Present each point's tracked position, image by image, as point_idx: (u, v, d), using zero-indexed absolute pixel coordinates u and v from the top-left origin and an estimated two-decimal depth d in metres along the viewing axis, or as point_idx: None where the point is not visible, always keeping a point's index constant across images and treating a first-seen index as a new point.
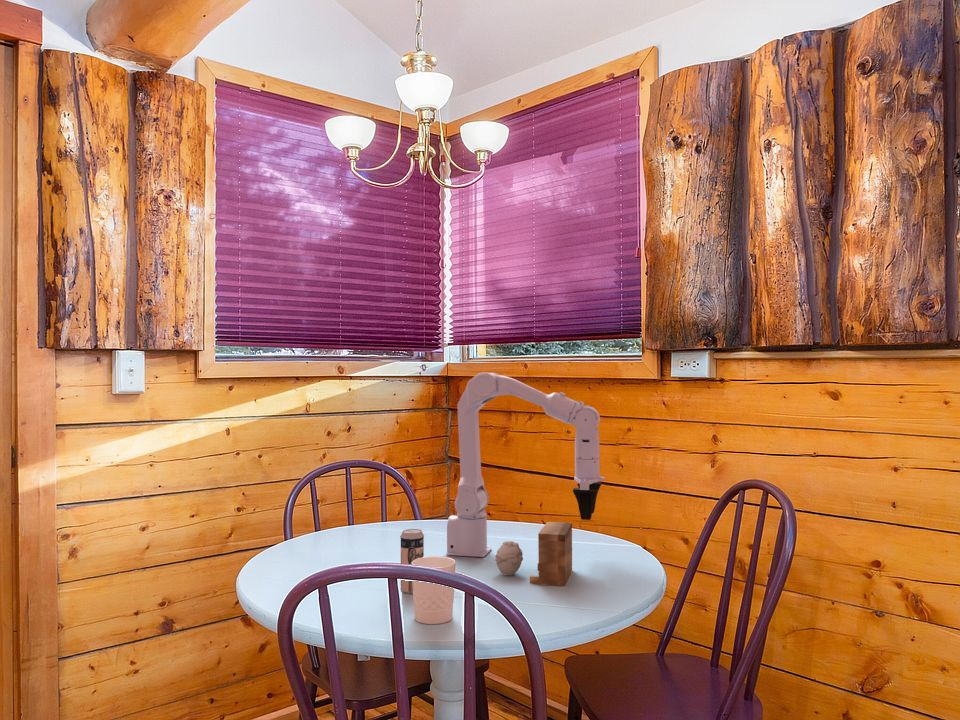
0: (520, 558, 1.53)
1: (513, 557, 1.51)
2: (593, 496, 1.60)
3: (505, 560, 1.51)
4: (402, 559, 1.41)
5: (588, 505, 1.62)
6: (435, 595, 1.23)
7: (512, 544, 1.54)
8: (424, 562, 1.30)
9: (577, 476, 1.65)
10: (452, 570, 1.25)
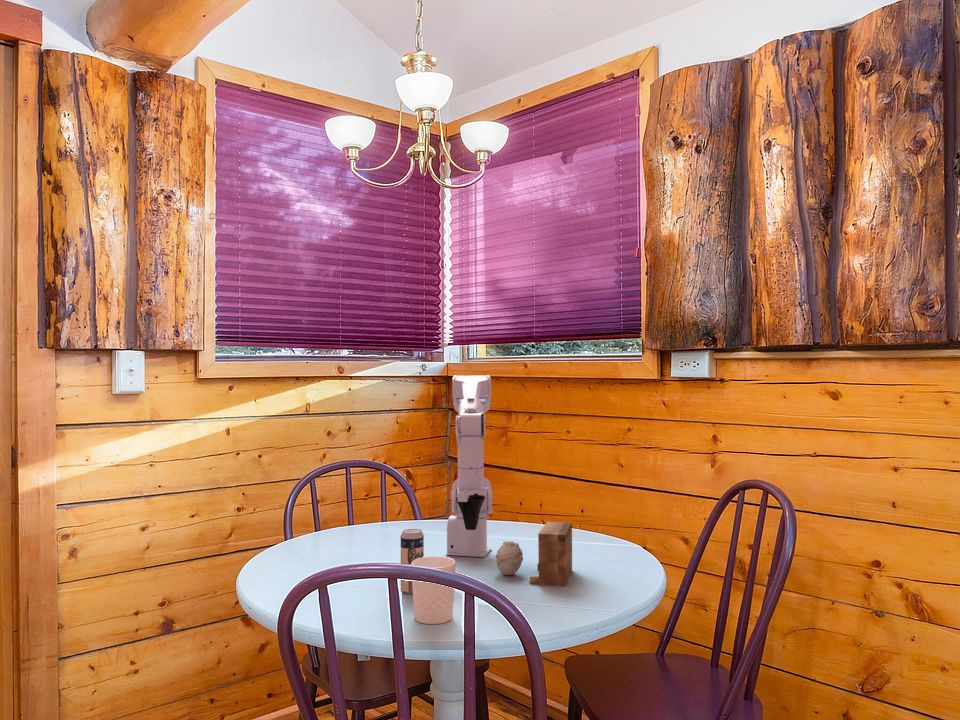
0: (520, 558, 1.53)
1: (513, 557, 1.51)
2: (476, 505, 1.54)
3: (505, 560, 1.51)
4: (402, 559, 1.41)
5: (472, 514, 1.55)
6: (435, 595, 1.23)
7: (512, 544, 1.54)
8: (424, 562, 1.30)
9: (459, 487, 1.55)
10: (452, 570, 1.25)
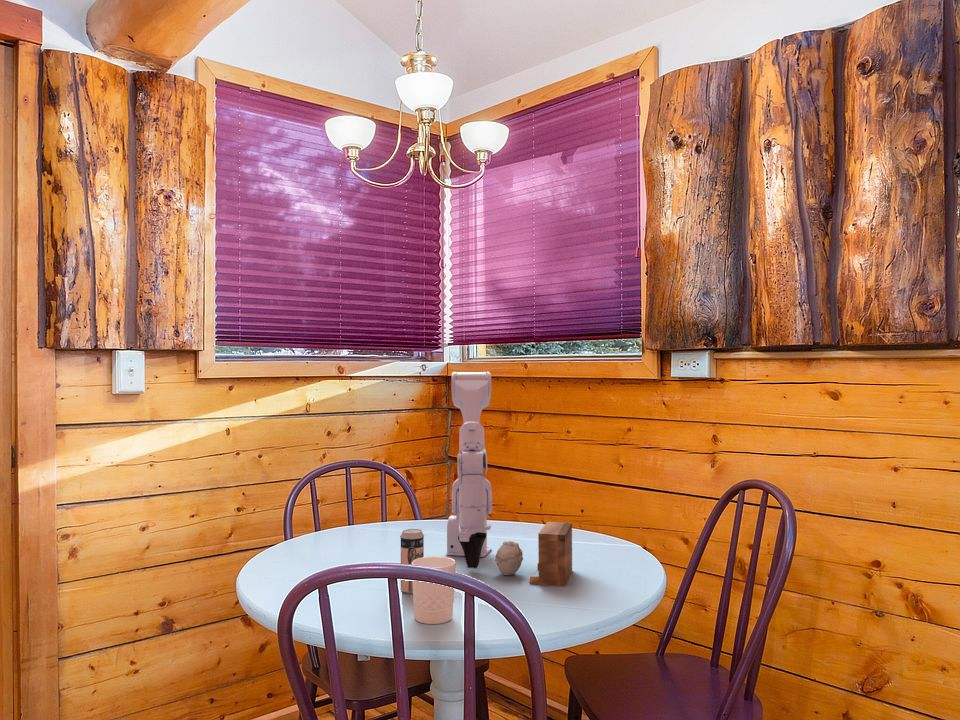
0: (520, 558, 1.53)
1: (513, 557, 1.51)
2: (478, 544, 1.54)
3: (505, 560, 1.51)
4: (402, 559, 1.41)
5: (474, 552, 1.55)
6: (435, 595, 1.23)
7: (512, 544, 1.54)
8: (424, 562, 1.30)
9: (461, 525, 1.55)
10: (452, 570, 1.25)
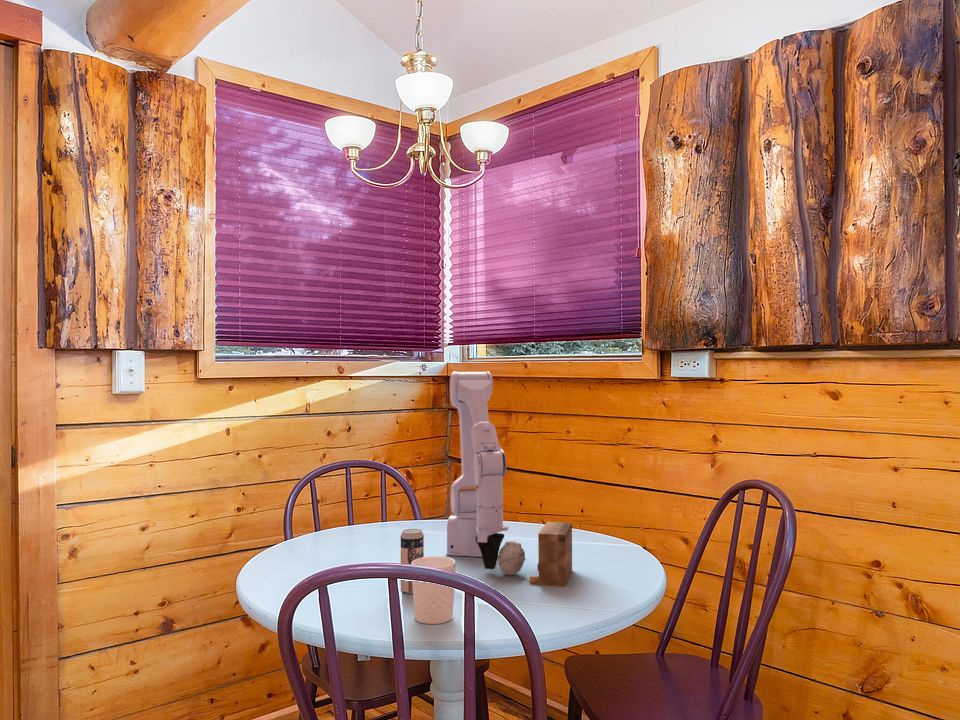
0: (522, 558, 1.53)
1: (515, 557, 1.51)
2: (496, 545, 1.53)
3: (507, 560, 1.51)
4: (402, 559, 1.41)
5: (491, 553, 1.54)
6: (435, 595, 1.23)
7: (514, 544, 1.54)
8: (424, 562, 1.30)
9: (478, 526, 1.54)
10: (452, 570, 1.25)
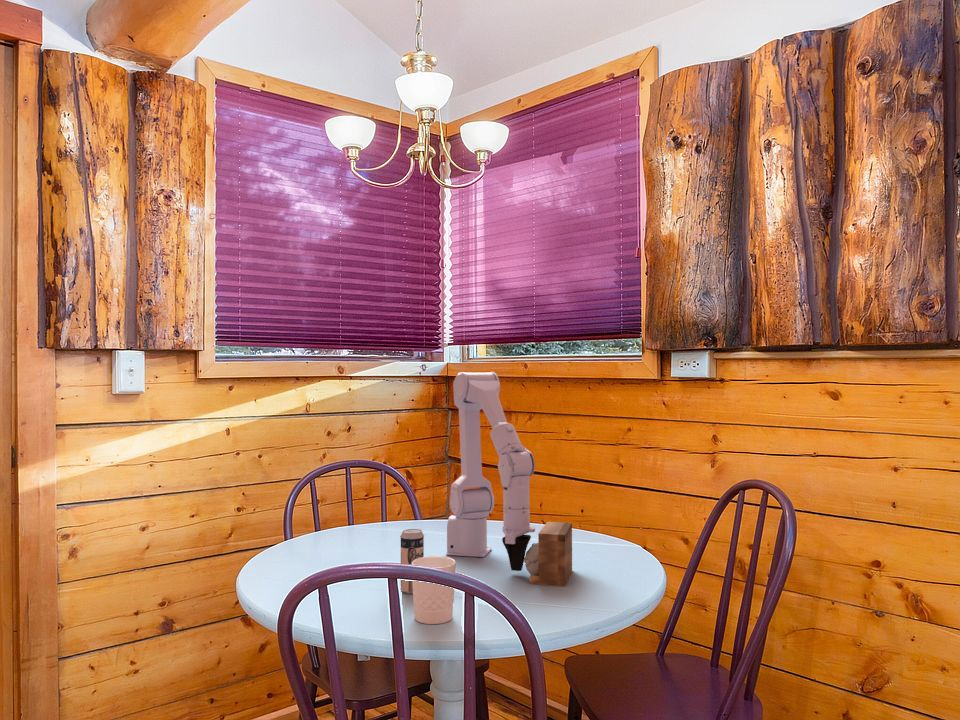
0: None
1: None
2: (523, 546, 1.51)
3: (534, 562, 1.50)
4: (402, 559, 1.41)
5: (518, 555, 1.53)
6: (435, 595, 1.23)
7: None
8: (424, 562, 1.30)
9: (505, 527, 1.52)
10: (452, 570, 1.25)
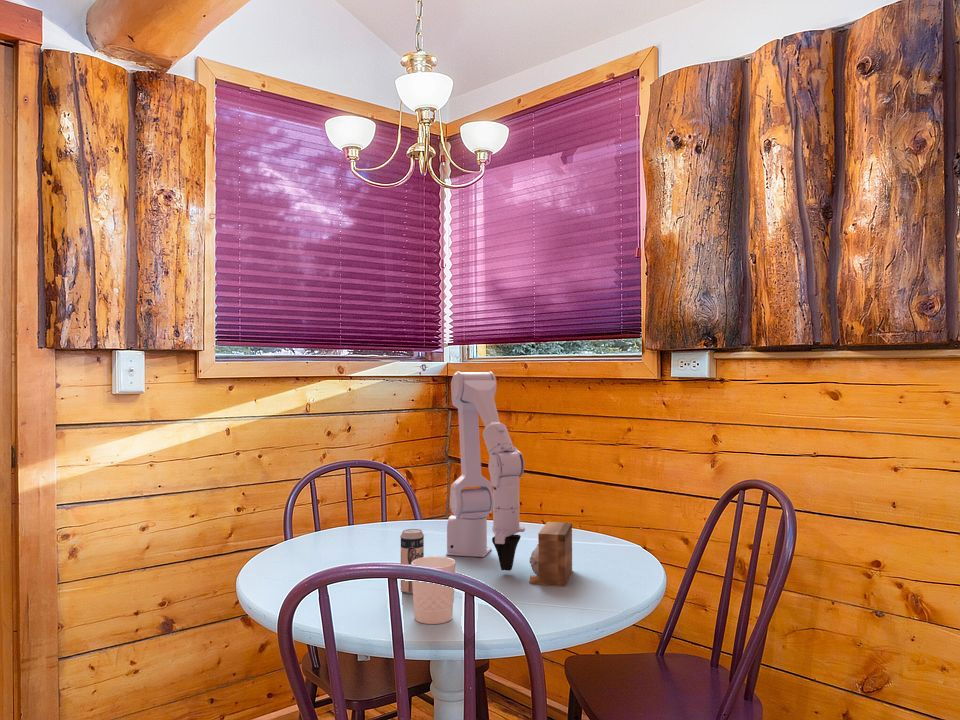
0: None
1: None
2: (513, 546, 1.52)
3: None
4: (402, 559, 1.41)
5: (508, 555, 1.53)
6: (435, 595, 1.23)
7: None
8: (424, 562, 1.30)
9: (495, 527, 1.53)
10: (452, 570, 1.25)
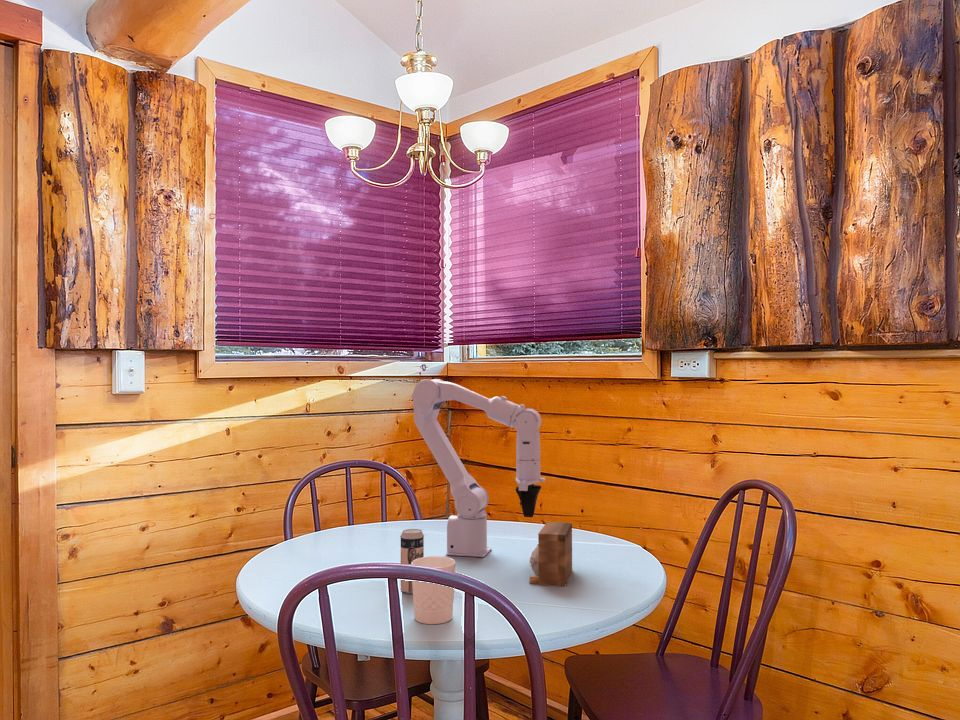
0: None
1: None
2: (534, 494, 1.67)
3: None
4: (402, 559, 1.41)
5: (530, 503, 1.69)
6: (435, 595, 1.23)
7: None
8: (424, 562, 1.30)
9: (518, 477, 1.68)
10: (452, 570, 1.25)
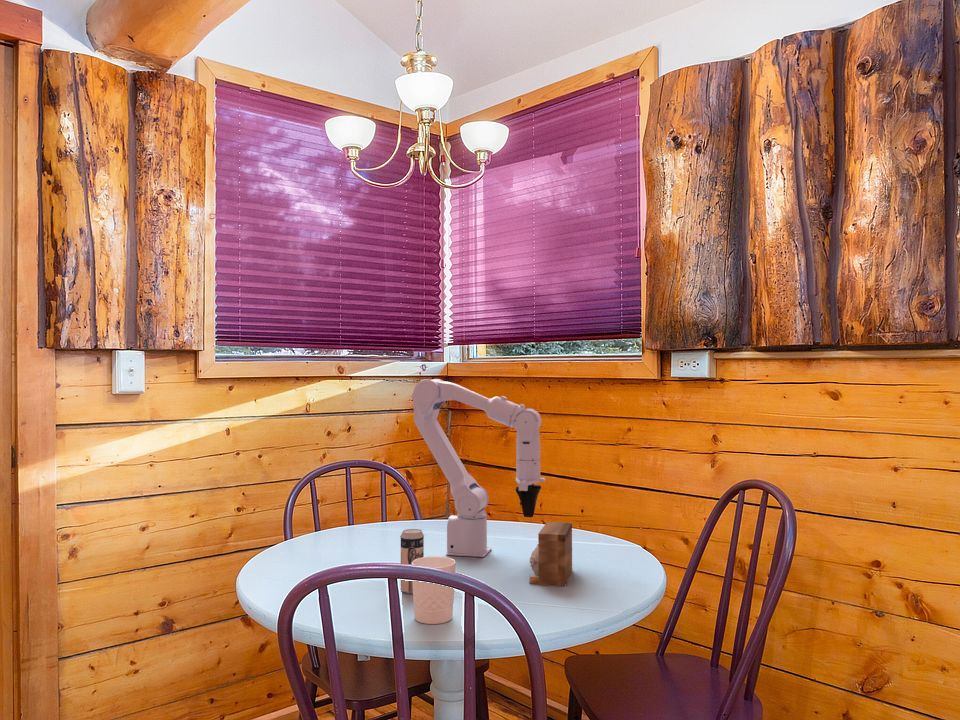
0: None
1: None
2: (534, 494, 1.67)
3: None
4: (402, 559, 1.41)
5: (530, 503, 1.69)
6: (435, 595, 1.23)
7: None
8: (424, 562, 1.30)
9: (518, 477, 1.68)
10: (452, 570, 1.25)
